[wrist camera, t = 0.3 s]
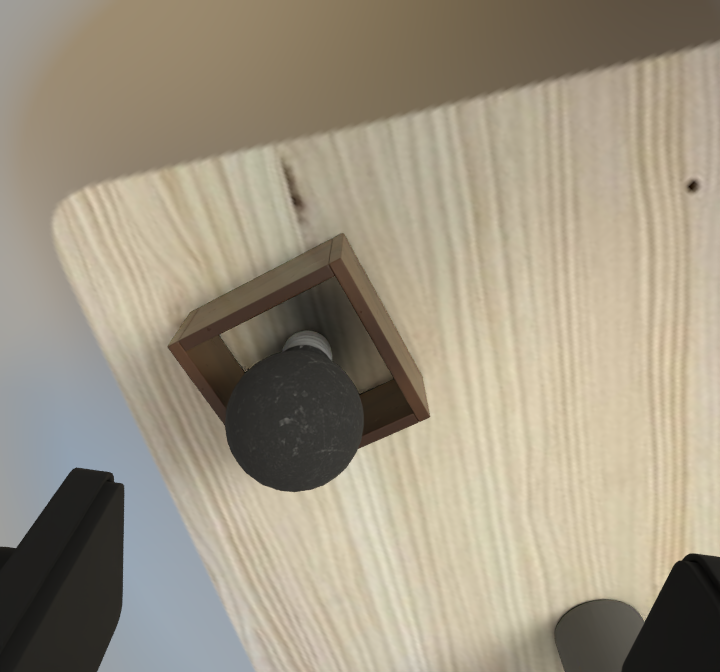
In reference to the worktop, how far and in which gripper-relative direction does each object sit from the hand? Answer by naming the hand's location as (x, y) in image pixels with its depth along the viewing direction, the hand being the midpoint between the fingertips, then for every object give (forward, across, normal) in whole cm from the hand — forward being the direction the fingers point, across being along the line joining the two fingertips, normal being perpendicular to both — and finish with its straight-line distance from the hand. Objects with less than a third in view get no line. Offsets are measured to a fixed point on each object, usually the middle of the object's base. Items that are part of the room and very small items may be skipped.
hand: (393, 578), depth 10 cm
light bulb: (+21, +2, +6) cm, 22 cm away
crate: (+21, +2, +6) cm, 22 cm away
